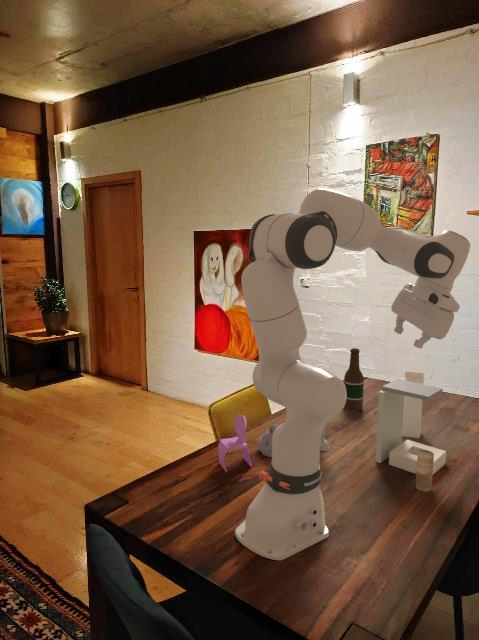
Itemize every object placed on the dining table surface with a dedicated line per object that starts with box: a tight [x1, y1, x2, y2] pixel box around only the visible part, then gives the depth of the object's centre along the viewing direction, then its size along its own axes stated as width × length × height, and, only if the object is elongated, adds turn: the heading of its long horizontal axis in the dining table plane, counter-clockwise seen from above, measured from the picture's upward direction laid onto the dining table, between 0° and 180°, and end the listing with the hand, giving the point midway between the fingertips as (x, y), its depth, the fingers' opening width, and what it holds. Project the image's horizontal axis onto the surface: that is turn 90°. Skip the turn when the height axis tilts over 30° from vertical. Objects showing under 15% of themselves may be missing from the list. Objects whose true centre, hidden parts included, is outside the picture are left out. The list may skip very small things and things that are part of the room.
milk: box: [402, 371, 425, 439], centre depth 159 cm, size 6×6×22 cm
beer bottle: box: [343, 348, 365, 412], centre depth 184 cm, size 8×8×24 cm
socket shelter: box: [375, 378, 447, 475], centre depth 139 cm, size 14×16×23 cm
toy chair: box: [217, 414, 253, 473], centre depth 138 cm, size 8×9×15 cm
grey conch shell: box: [257, 423, 278, 458], centre depth 147 cm, size 12×12×11 cm
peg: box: [415, 450, 434, 493], centre depth 125 cm, size 4×4×10 cm
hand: (406, 339), depth 126 cm, fingers open, 8 cm apart
